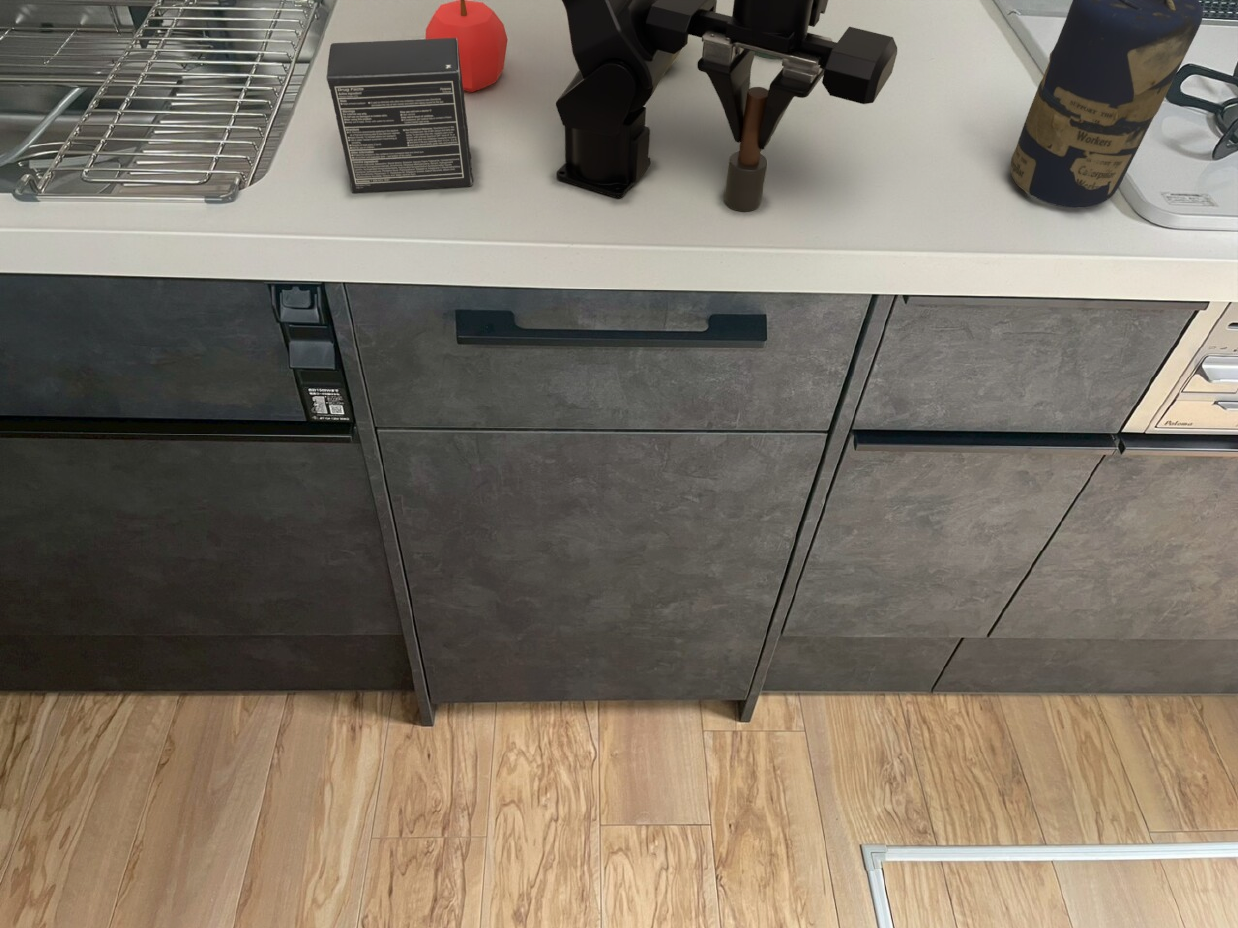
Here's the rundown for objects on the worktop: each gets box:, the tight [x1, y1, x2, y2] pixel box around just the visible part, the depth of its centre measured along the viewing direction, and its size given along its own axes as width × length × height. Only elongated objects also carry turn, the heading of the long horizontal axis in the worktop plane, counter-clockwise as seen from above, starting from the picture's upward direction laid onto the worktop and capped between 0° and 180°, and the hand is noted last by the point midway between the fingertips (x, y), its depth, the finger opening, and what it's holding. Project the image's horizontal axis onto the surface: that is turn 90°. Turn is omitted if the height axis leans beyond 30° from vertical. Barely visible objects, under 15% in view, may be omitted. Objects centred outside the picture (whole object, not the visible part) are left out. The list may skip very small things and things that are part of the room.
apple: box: [424, 0, 509, 93], centre depth 91 cm, size 8×8×8 cm
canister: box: [1009, 0, 1204, 209], centre depth 78 cm, size 10×10×18 cm
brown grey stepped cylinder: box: [723, 86, 769, 212], centre depth 78 cm, size 3×3×10 cm
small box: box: [325, 38, 474, 194], centre depth 79 cm, size 11×6×10 cm, turn 98°
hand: (751, 143), depth 78 cm, fingers closed on brown grey stepped cylinder, 2 cm apart
